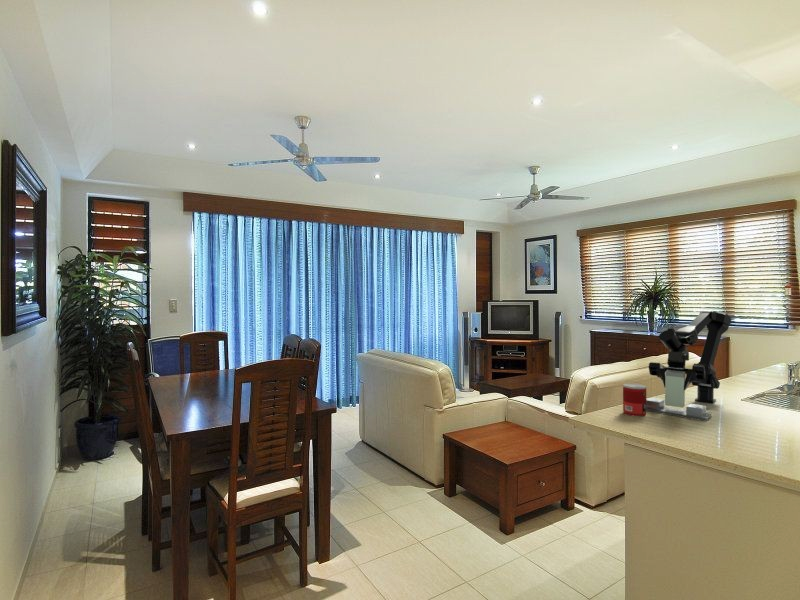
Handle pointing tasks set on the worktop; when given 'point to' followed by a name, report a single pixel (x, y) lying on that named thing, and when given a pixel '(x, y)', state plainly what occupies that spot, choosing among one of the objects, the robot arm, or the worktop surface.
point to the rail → (690, 412)
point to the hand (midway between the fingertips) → (674, 388)
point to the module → (675, 388)
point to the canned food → (634, 399)
